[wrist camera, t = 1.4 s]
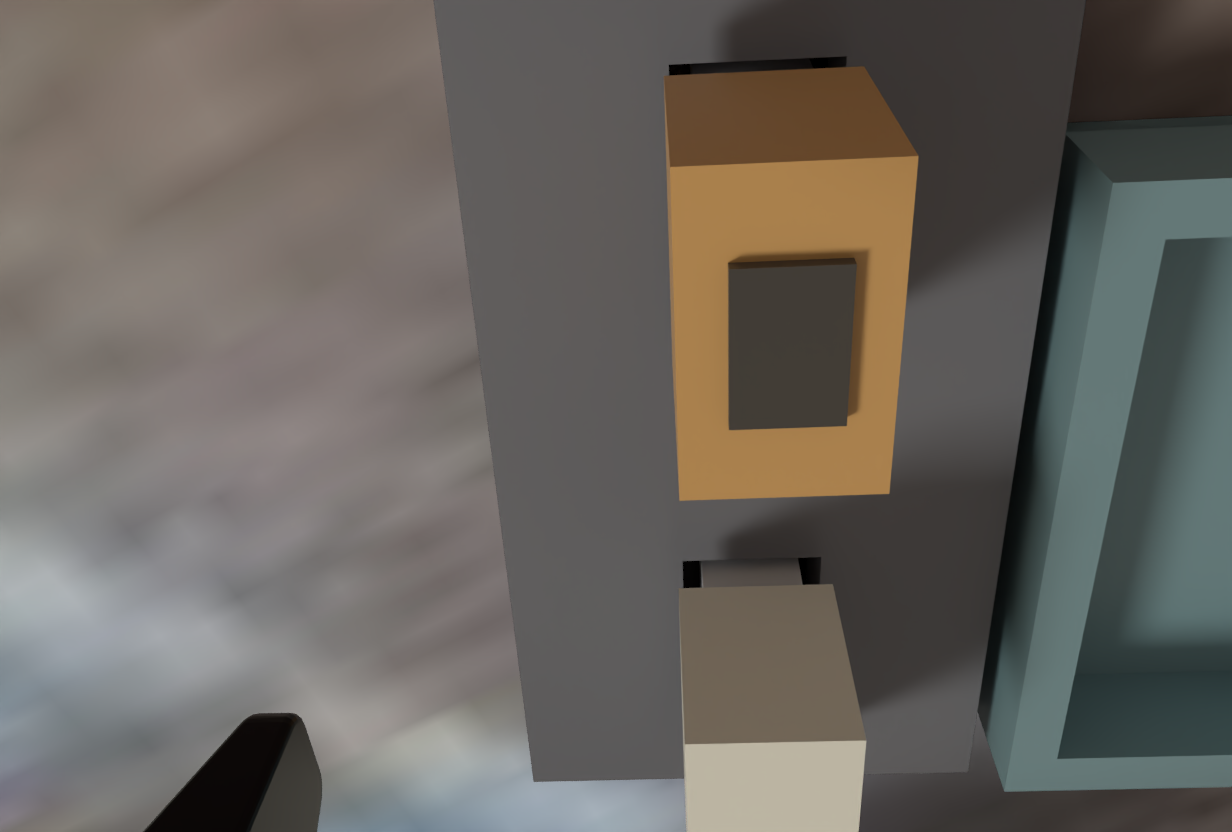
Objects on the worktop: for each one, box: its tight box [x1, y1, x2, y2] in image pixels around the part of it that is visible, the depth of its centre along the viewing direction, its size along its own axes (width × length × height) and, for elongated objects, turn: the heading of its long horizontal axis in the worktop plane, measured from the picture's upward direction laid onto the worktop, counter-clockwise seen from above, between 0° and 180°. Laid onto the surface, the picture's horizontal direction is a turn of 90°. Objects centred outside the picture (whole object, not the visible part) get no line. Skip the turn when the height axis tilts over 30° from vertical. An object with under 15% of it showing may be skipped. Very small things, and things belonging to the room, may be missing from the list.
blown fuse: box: [664, 58, 919, 501], centre depth 18 cm, size 5×3×7 cm, turn 3°
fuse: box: [679, 558, 866, 832], centre depth 24 cm, size 5×3×7 cm, turn 3°
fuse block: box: [434, 0, 1086, 782], centre depth 23 cm, size 18×10×2 cm, turn 3°
